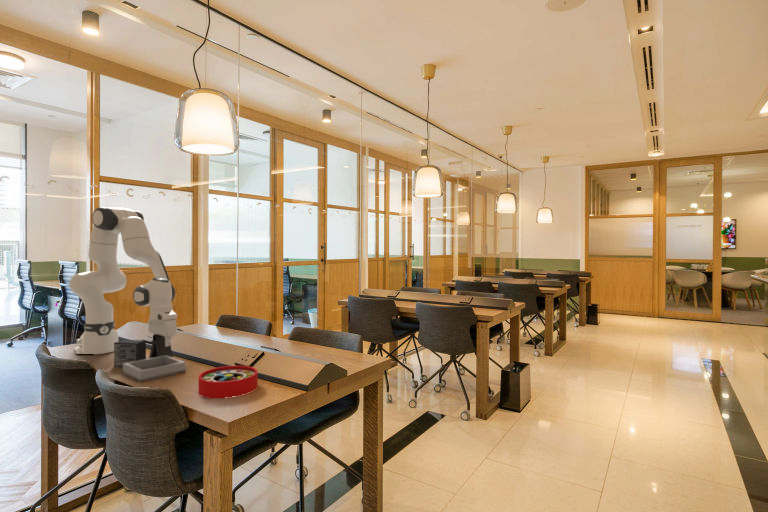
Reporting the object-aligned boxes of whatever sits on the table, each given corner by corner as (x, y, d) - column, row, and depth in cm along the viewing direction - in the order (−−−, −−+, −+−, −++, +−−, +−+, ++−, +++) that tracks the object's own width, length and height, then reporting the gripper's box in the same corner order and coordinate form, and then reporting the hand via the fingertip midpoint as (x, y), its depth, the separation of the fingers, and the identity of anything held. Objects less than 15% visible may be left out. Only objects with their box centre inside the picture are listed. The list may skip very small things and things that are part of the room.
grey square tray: (122, 373, 168) (122, 363, 168) (166, 364, 181) (166, 355, 181) (140, 382, 157) (140, 371, 157) (185, 371, 171) (185, 362, 170)
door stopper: (148, 360, 187) (148, 333, 187) (161, 357, 192) (161, 331, 192) (160, 363, 183) (160, 336, 182) (173, 360, 188) (173, 333, 188)
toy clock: (266, 367, 159) (240, 384, 139) (266, 382, 159) (240, 401, 139) (218, 364, 162) (186, 380, 143) (218, 379, 162) (186, 397, 143)
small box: (147, 363, 182) (146, 339, 182) (136, 368, 175) (136, 343, 175) (124, 362, 183) (124, 339, 183) (113, 367, 176) (113, 342, 176)
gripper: (144, 312, 191) (144, 342, 191) (164, 317, 178) (164, 349, 179) (158, 311, 196) (158, 340, 196) (179, 315, 183) (179, 346, 184)
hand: (161, 344), depth 187 cm, fingers open, 8 cm apart
